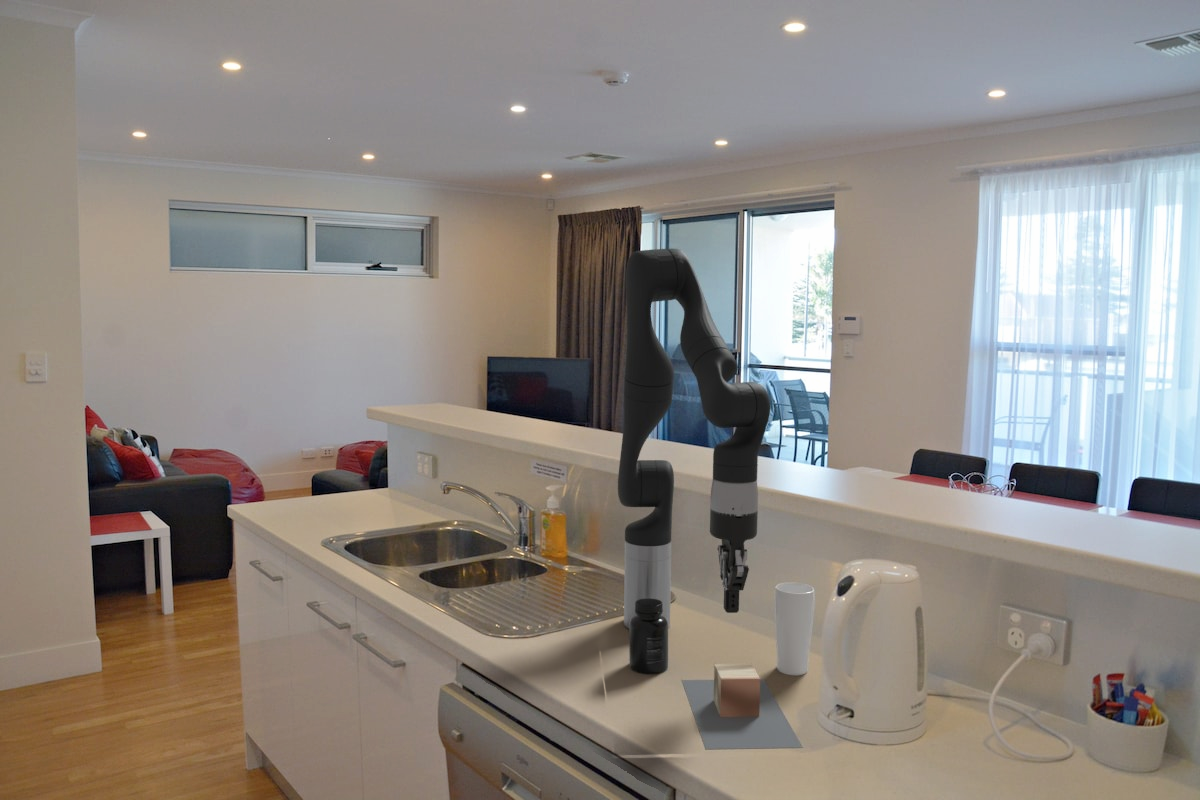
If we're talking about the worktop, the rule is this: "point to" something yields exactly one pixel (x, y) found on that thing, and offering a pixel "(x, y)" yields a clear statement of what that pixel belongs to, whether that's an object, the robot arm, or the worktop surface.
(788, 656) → the drinking glass
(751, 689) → the birch cube
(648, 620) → the supplement bottle
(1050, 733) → the worktop surface
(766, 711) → the slate mat
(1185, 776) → the worktop surface
